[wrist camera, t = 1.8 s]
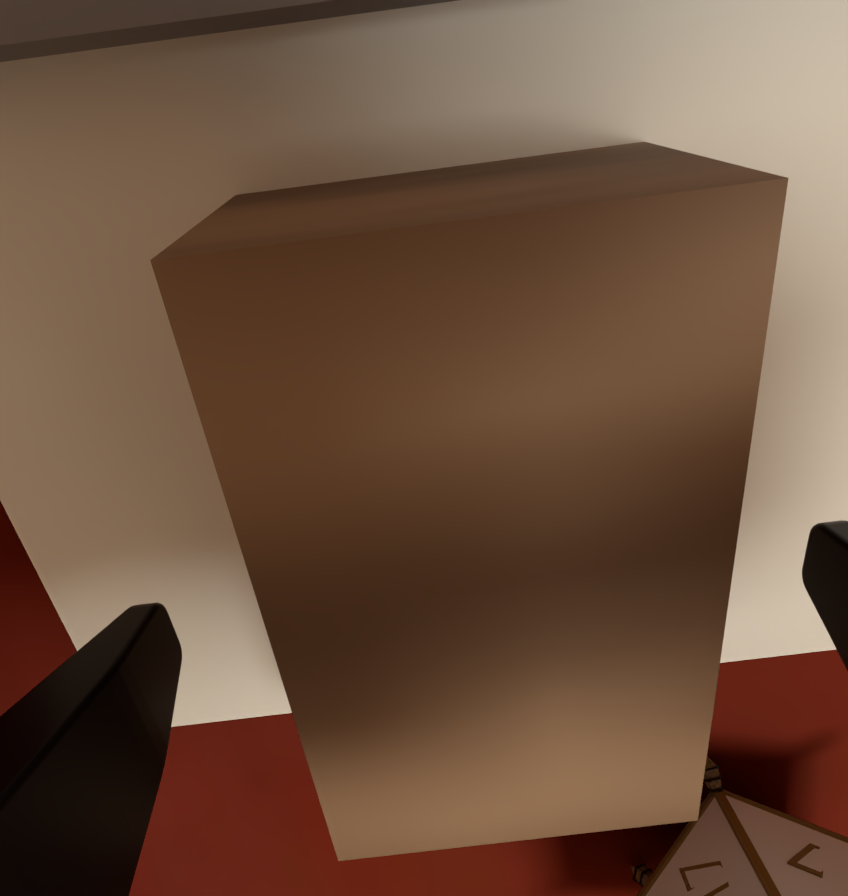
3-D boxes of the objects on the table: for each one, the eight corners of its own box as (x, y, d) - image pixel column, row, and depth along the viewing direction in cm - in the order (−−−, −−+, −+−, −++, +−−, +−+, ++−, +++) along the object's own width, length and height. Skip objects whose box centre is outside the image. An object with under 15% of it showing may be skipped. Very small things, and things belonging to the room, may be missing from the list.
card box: (623, 641, 15) (698, 820, 11) (350, 674, 15) (338, 860, 11) (644, 141, 10) (787, 178, 6) (235, 194, 10) (149, 259, 6)
